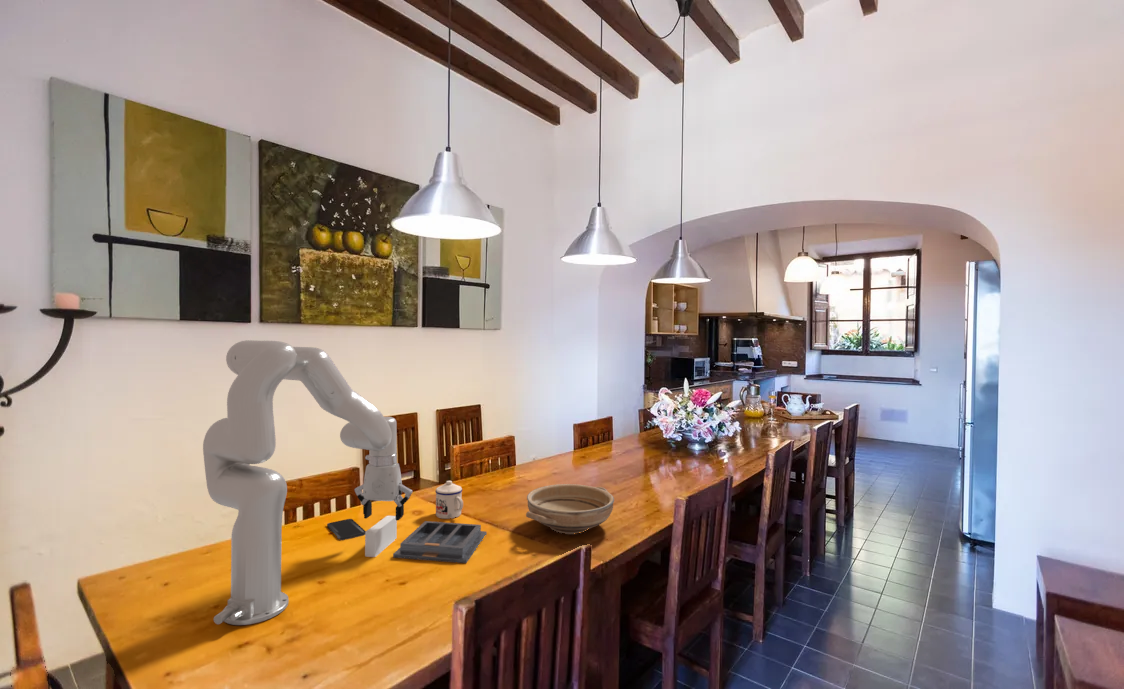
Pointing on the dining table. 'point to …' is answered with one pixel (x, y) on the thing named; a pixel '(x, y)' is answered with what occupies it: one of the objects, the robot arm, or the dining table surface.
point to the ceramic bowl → (570, 507)
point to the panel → (380, 536)
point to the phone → (346, 529)
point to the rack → (441, 542)
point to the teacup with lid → (448, 501)
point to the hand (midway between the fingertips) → (383, 517)
